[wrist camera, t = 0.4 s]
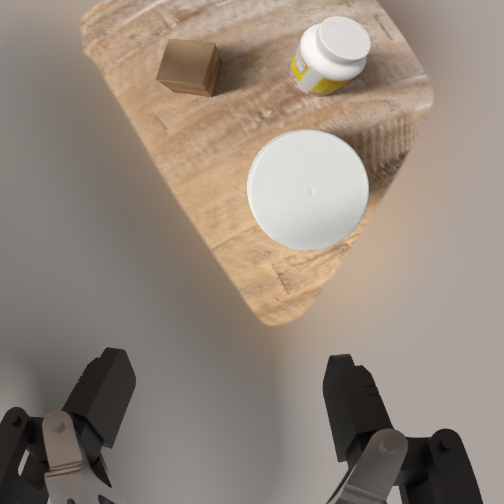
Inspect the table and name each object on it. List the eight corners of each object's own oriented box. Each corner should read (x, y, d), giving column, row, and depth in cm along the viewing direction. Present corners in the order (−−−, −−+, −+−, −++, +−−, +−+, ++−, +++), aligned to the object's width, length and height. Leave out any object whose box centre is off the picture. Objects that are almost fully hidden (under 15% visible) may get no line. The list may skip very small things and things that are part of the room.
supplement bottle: (348, 75, 28) (394, 45, 16) (318, 107, 29) (356, 85, 17) (308, 43, 26) (336, -3, 14) (277, 74, 28) (291, 34, 16)
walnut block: (184, 57, 27) (169, 39, 20) (222, 62, 27) (215, 42, 21) (173, 92, 29) (155, 79, 22) (211, 97, 29) (201, 84, 22)
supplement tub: (325, 138, 31) (375, 132, 17) (324, 211, 34) (368, 251, 21) (247, 137, 31) (244, 126, 17) (249, 212, 34) (248, 255, 21)
